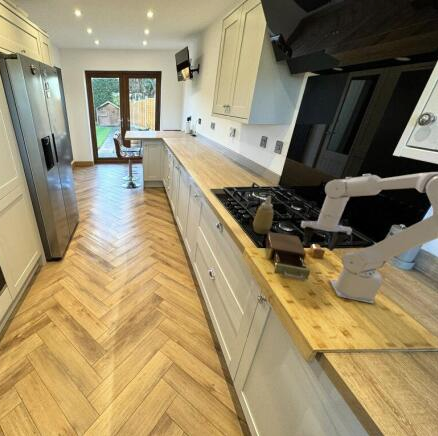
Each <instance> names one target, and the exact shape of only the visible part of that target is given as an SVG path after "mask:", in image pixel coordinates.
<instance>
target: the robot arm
mask: <svg viewBox="0 0 438 436" xmlns="http://www.w3.org/2000/svg"><path fill="white" fill-rule="evenodd" d="M402 189H416V190H417V191H418V192H419V193H422V194H423V193H425V194H426V196H427V198H428V200H429V203H430V205H431V208H432V215H429V217H428V216H427V217H426V218H424V219H422V220H421V221H418V222H417V223H414V224H411V225H410V226H408V227H407V228H404V229H402V230H400V231H399V232H396V233H394V234H393V235H391V236H388V237H387V238H384V239H383V240H380V241H379V242H376V243H375V244H372V245H370V246H367V247H365V248H361V249H359V250H357V251H348V252H346V253H344V254H343V255H342V257H341V264H342V269H341V271H340V273H339V275H338V277H337V279H336V280H334V279H330V280H329V282H330V284H331V286H332V288H333V289H334V292H335V293H336V295H337V296H338V297H340V298H345V299H349V300H353V301H359V302H364V303H368V304H374V303H375V302H374V299H375V298H376V297H377V294H378V292H379V291H380V290H381V287H382V284H383V278H382V275H381V274H380V273H379V272H377V270H378V269H381V268H383V267H384V266H385V265H386V264H387V262H389V261H391V260H392V259H393V258H394V257H397V256H399V255H402V254H404V253H407V252H408V251H411V250H413V249H416V248H418V247H421V246H423V245H425V244H428V243H430V242H433V241H435V240H437V239H438V171H430V172H419V173H412V174H405V175H399V176H398V175H397V176H392V177H390V176H389V177H385V178H382V177H380V176H378V175H377V174H371V173H364V174H362V176H356V177H355V176H354V177H352V176H346V177H345V178H342V179H341V178H340V179H333V180H330V181H328V182H327V183H326V185H325V187H324V192H325V195H326V196H325V198H324V201H323V204H322V207H321V209H320V213H319V214H318V215H319V216H318V219H317V220H315V221H313V220H301V223H300V228H302V229H303V234H304V247H306V248H308V247H309V245H310V243H311V239H312V238H313V236H314V233H315V232H314V230H318V231H319V230H320V231H325V232H332V236H331V239H330V241H329V244H328V247H327V248H328V250H329V251H330V252H332V251H334V250H335V248H336V247H337V246H338V245H339V244H341V243H342V242H344V241H345V240H346V239H347V238H348V235H349V236H351V234H352V232H353V229H352V228H351V226H344V225H340V224H339V223H340V220H341V218H342V215H343V213H344V210H345V207H346V205H347V203H348V201H349V200H350V198H351V197H362V196H364V197H365V196H366V197H367V196H376V195H378V194H379V193H380V192H382V190H384V191H385V190H402Z"/></svg>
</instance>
